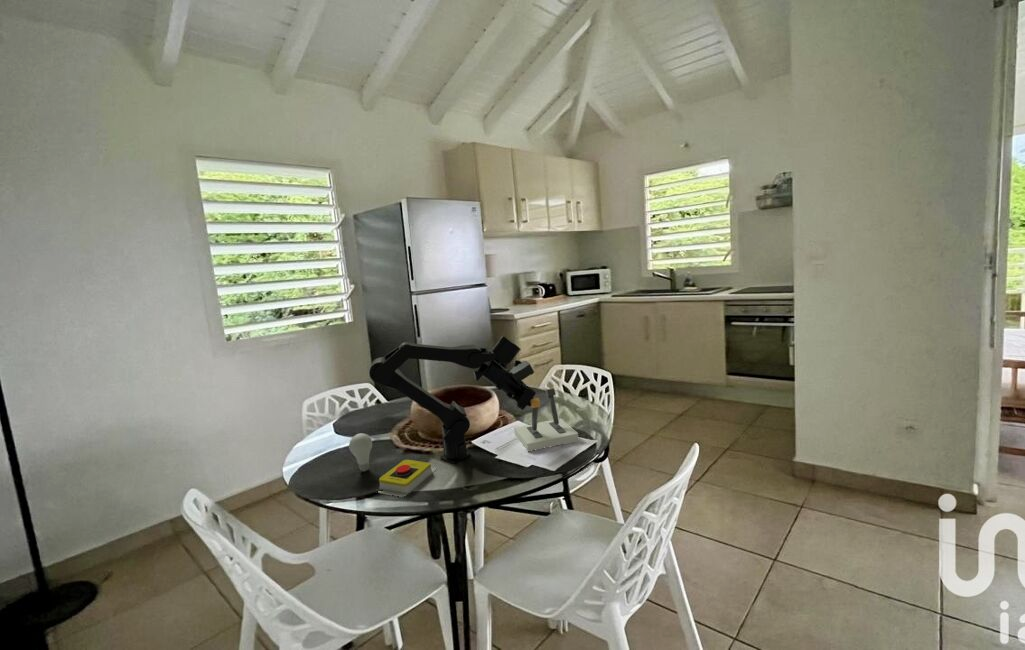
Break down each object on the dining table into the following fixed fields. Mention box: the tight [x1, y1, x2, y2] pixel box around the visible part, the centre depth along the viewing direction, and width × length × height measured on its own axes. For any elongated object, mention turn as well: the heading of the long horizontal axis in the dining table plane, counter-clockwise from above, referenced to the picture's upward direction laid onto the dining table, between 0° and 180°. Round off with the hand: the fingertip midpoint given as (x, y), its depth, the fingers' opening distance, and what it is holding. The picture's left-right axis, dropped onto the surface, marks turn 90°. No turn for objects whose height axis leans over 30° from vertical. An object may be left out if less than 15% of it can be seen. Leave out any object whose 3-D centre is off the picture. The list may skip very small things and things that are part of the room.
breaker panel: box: [513, 388, 580, 452], centre depth 132 cm, size 16×13×14 cm
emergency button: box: [378, 459, 437, 498], centre depth 115 cm, size 9×4×15 cm
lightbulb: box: [348, 432, 373, 472], centre depth 121 cm, size 6×6×11 cm
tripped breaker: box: [530, 397, 541, 430], centre depth 129 cm, size 2×2×11 cm
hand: (536, 405), depth 131 cm, fingers closed
